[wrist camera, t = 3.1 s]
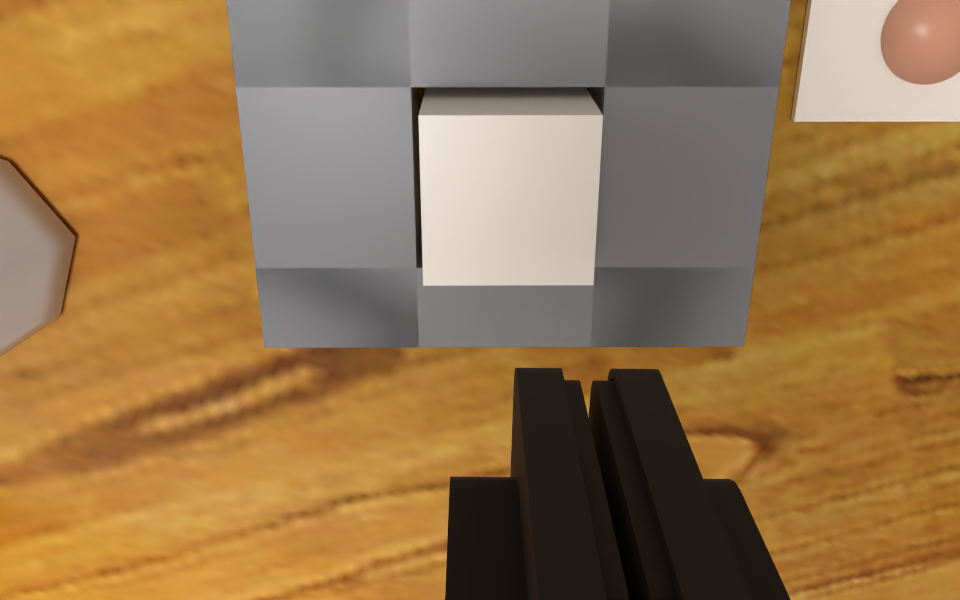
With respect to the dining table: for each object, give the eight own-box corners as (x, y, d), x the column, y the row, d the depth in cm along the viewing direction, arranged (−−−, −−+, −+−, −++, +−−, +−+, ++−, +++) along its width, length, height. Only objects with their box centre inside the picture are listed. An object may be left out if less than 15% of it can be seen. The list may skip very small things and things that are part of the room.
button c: (585, 87, 24) (602, 115, 21) (578, 237, 26) (593, 285, 23) (425, 87, 24) (418, 115, 21) (429, 238, 26) (423, 285, 23)
